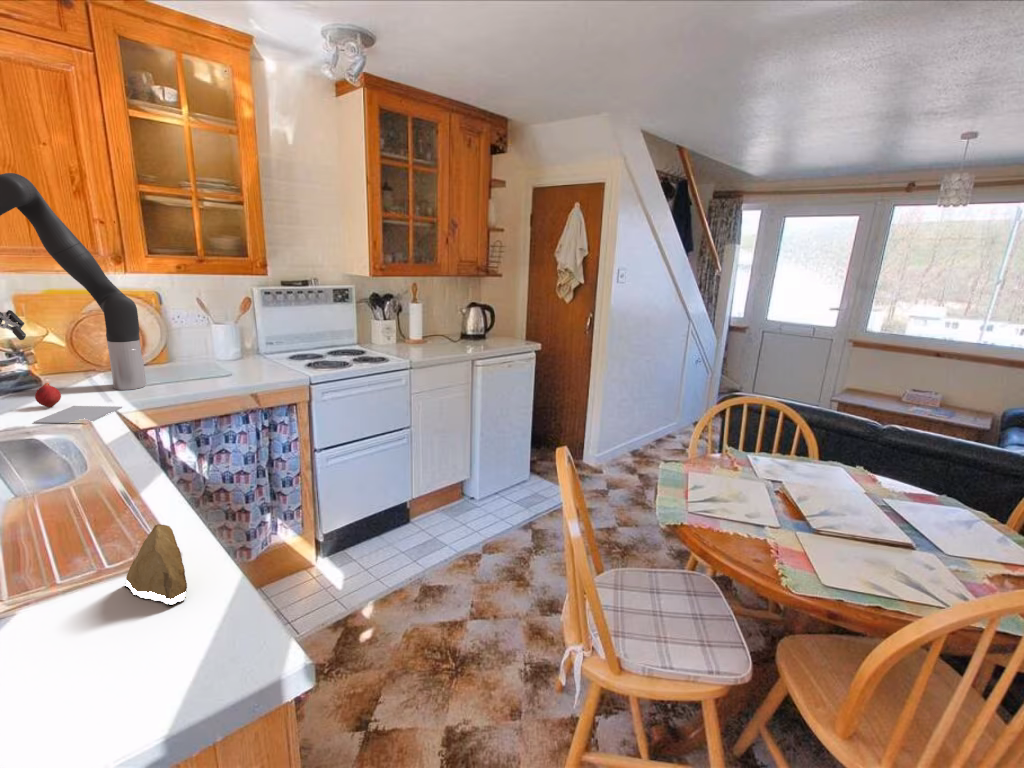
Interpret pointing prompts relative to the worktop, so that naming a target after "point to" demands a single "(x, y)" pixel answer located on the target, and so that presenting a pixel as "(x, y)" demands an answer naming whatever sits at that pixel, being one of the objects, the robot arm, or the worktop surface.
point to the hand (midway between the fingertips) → (7, 340)
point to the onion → (47, 395)
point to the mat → (78, 414)
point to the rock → (159, 565)
